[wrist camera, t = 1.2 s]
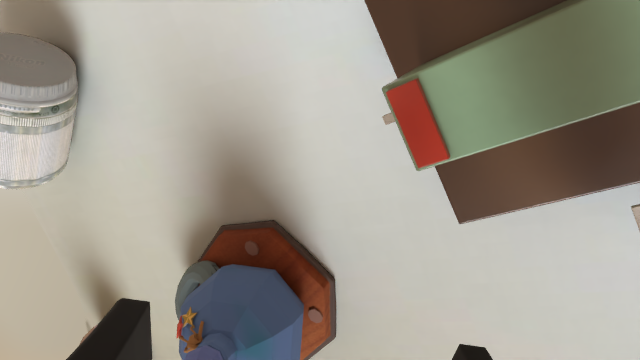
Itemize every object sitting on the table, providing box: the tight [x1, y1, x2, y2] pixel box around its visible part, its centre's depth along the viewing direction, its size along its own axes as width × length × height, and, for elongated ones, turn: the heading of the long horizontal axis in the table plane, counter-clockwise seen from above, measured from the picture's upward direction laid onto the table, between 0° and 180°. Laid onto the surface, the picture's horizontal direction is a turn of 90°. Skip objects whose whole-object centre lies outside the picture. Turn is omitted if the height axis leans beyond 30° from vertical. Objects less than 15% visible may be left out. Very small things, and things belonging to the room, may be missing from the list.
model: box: [175, 220, 336, 360], centre depth 27 cm, size 12×9×9 cm
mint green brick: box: [382, 0, 640, 171], centre depth 14 cm, size 10×3×4 cm, turn 118°
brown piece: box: [365, 0, 640, 230], centre depth 16 cm, size 14×14×3 cm
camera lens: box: [0, 32, 78, 189], centre depth 30 cm, size 6×6×8 cm
